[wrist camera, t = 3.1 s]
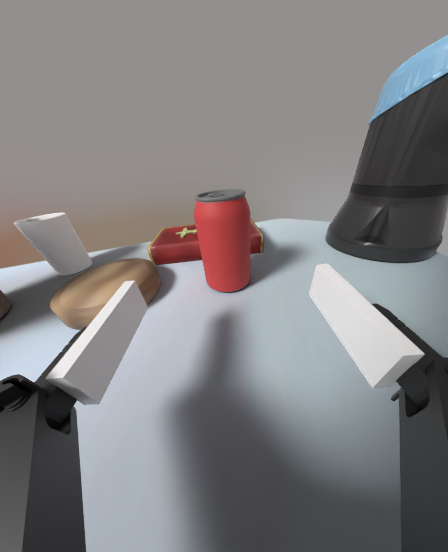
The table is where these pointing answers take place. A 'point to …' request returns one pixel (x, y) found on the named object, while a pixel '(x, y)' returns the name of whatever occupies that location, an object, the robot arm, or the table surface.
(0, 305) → the plant pot
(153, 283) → the shallow wooden bowl
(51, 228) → the white cup
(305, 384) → the table surface
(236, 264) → the beer can
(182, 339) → the table surface
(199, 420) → the table surface
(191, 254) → the hardcover book
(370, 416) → the table surface
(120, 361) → the robot arm
